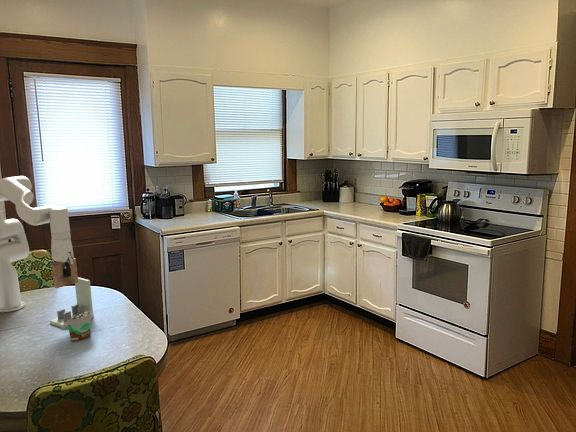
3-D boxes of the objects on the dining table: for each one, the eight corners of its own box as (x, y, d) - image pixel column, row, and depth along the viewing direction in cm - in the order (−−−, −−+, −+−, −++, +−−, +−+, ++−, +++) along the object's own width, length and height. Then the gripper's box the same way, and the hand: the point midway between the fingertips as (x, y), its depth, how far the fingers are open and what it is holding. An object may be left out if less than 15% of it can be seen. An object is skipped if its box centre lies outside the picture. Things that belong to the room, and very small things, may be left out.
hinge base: (63, 328, 215) (58, 289, 211) (50, 323, 220) (45, 285, 217) (93, 316, 227) (90, 280, 223) (80, 312, 232) (76, 276, 229)
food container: (82, 344, 199) (79, 320, 197) (68, 343, 200) (66, 320, 198) (99, 331, 211) (97, 309, 209) (86, 330, 212) (84, 308, 210)
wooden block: (58, 288, 214) (55, 264, 212) (54, 287, 216) (51, 263, 214) (79, 282, 222) (76, 258, 220) (75, 281, 224) (72, 257, 222)
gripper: (42, 235, 217) (47, 275, 220) (63, 239, 208) (67, 281, 211) (58, 231, 223) (63, 271, 226) (79, 235, 214) (83, 276, 217)
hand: (65, 275), depth 219 cm, fingers closed on wooden block, 2 cm apart
